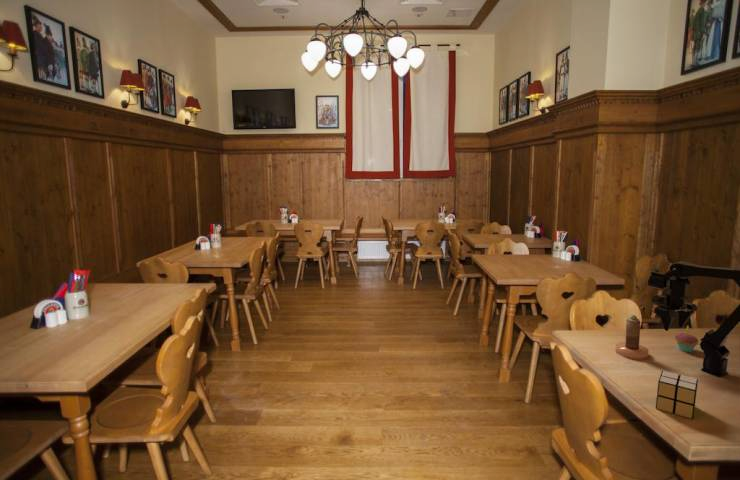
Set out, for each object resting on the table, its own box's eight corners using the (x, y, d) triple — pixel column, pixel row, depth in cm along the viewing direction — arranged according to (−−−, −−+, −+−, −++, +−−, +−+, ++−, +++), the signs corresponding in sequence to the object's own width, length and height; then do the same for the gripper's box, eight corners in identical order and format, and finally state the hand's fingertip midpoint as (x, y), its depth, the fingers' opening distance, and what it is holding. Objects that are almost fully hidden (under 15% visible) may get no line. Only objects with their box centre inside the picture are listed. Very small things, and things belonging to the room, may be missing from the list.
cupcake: (697, 355, 184) (700, 328, 183) (672, 350, 190) (675, 324, 188) (697, 348, 191) (700, 322, 189) (674, 344, 196) (676, 318, 194)
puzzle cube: (659, 396, 152) (662, 370, 150) (694, 406, 145) (698, 378, 144) (655, 409, 144) (658, 380, 142) (692, 419, 138) (696, 390, 136)
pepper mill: (639, 350, 183) (641, 318, 180) (625, 348, 186) (627, 316, 183) (638, 345, 187) (640, 313, 185) (625, 344, 190) (626, 312, 187)
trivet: (654, 357, 184) (655, 350, 183) (635, 362, 179) (635, 355, 179) (627, 346, 195) (628, 340, 194) (609, 351, 190) (609, 344, 190)
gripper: (671, 284, 188) (668, 319, 191) (643, 290, 181) (639, 325, 183) (699, 291, 178) (695, 327, 181) (670, 297, 171) (666, 334, 173)
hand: (673, 328), depth 180 cm, fingers open, 9 cm apart
